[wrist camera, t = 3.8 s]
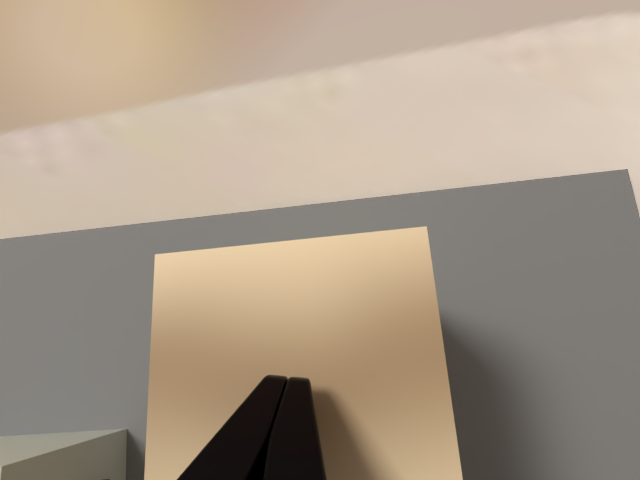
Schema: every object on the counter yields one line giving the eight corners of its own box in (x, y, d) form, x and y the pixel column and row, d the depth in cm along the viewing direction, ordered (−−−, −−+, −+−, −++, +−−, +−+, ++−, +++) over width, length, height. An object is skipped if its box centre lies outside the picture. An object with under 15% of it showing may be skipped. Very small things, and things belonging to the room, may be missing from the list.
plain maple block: (431, 475, 16) (474, 558, 8) (255, 483, 16) (140, 566, 9) (409, 296, 17) (426, 226, 10) (251, 310, 18) (155, 254, 10)
